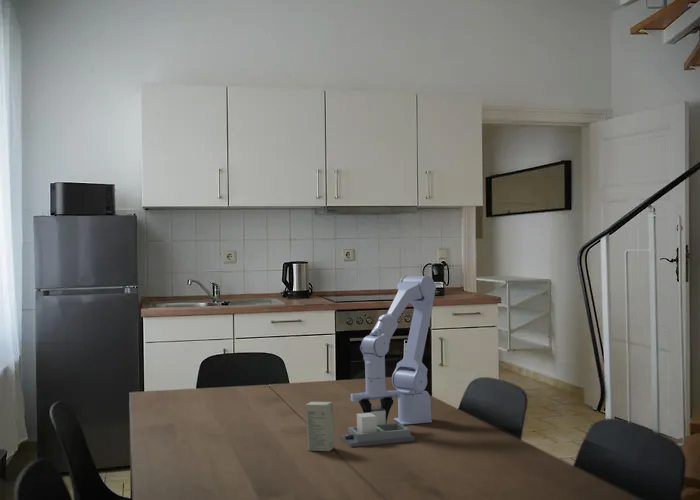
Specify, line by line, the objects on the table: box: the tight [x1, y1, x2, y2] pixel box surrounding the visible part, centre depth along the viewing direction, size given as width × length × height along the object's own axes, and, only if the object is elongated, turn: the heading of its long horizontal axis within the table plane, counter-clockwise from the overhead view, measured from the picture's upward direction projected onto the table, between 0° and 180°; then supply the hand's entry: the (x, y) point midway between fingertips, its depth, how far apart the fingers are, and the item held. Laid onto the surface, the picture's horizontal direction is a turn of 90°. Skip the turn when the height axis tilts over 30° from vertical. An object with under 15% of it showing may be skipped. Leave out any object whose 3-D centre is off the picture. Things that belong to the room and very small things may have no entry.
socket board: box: [340, 412, 416, 448], centre depth 207 cm, size 18×10×7 cm, turn 106°
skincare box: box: [304, 401, 335, 452], centre depth 199 cm, size 6×4×12 cm
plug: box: [371, 405, 387, 425], centre depth 218 cm, size 4×5×6 cm
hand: (376, 424), depth 218 cm, fingers closed on plug, 4 cm apart
